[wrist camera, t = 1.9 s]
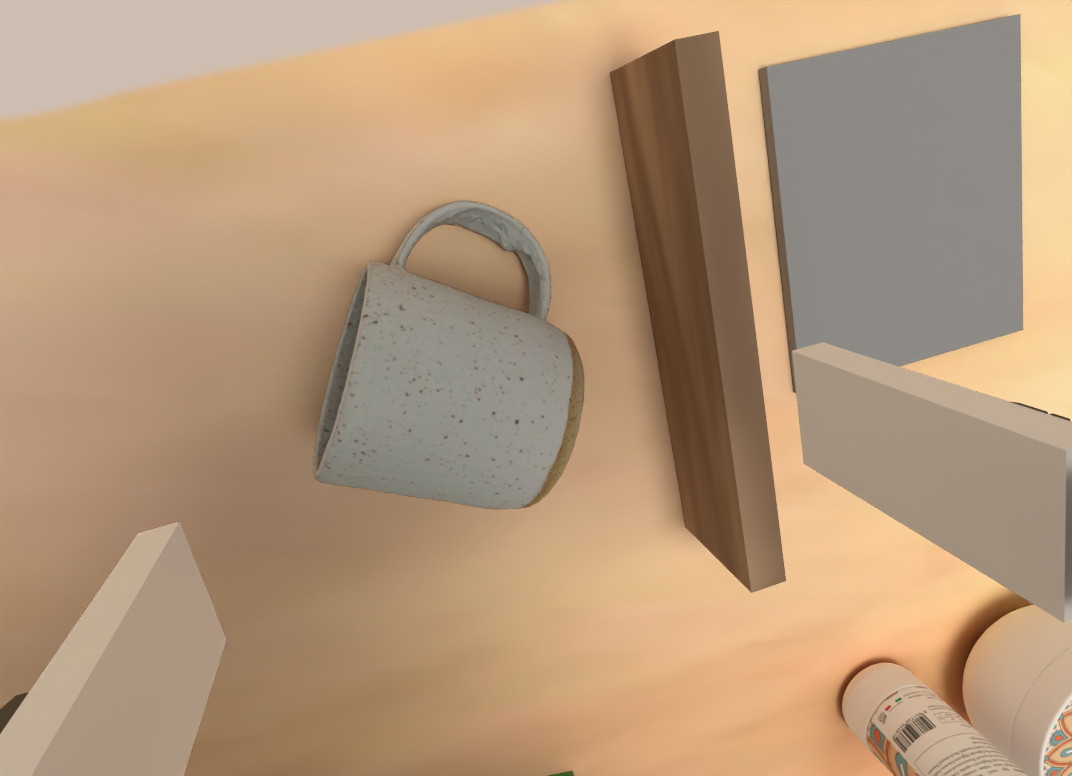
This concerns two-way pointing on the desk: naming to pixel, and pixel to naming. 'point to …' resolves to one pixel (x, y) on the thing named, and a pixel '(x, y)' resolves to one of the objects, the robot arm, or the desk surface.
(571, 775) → the hardback book
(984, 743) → the cosmetic set
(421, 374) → the ceramic mug
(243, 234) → the desk surface
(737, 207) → the walnut screen
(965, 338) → the mat
